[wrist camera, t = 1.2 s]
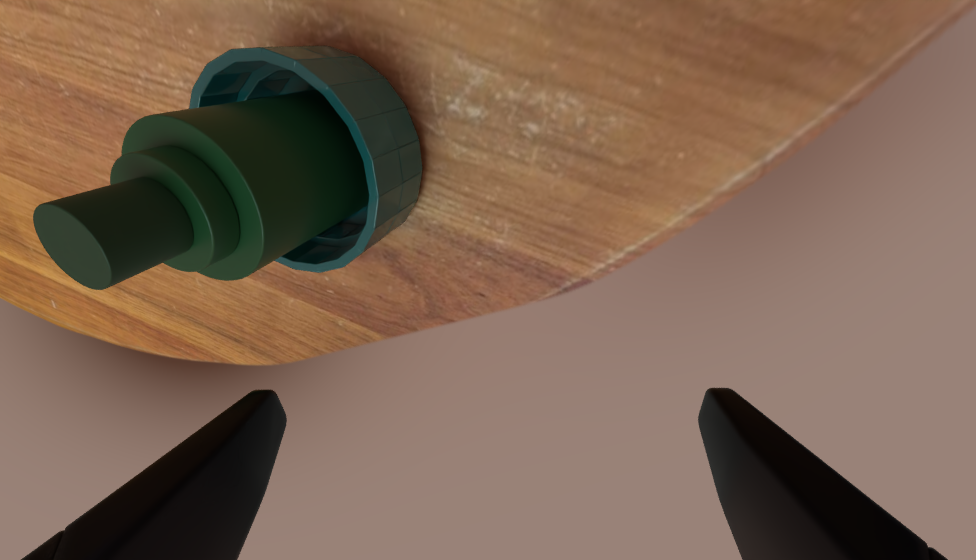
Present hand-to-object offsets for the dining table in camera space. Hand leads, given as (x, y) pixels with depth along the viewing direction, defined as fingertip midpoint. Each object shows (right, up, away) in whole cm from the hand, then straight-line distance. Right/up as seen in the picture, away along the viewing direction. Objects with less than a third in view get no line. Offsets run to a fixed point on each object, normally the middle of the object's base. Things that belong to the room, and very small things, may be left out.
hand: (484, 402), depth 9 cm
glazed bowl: (-8, +10, +15) cm, 20 cm away
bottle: (-8, +10, +15) cm, 19 cm away
